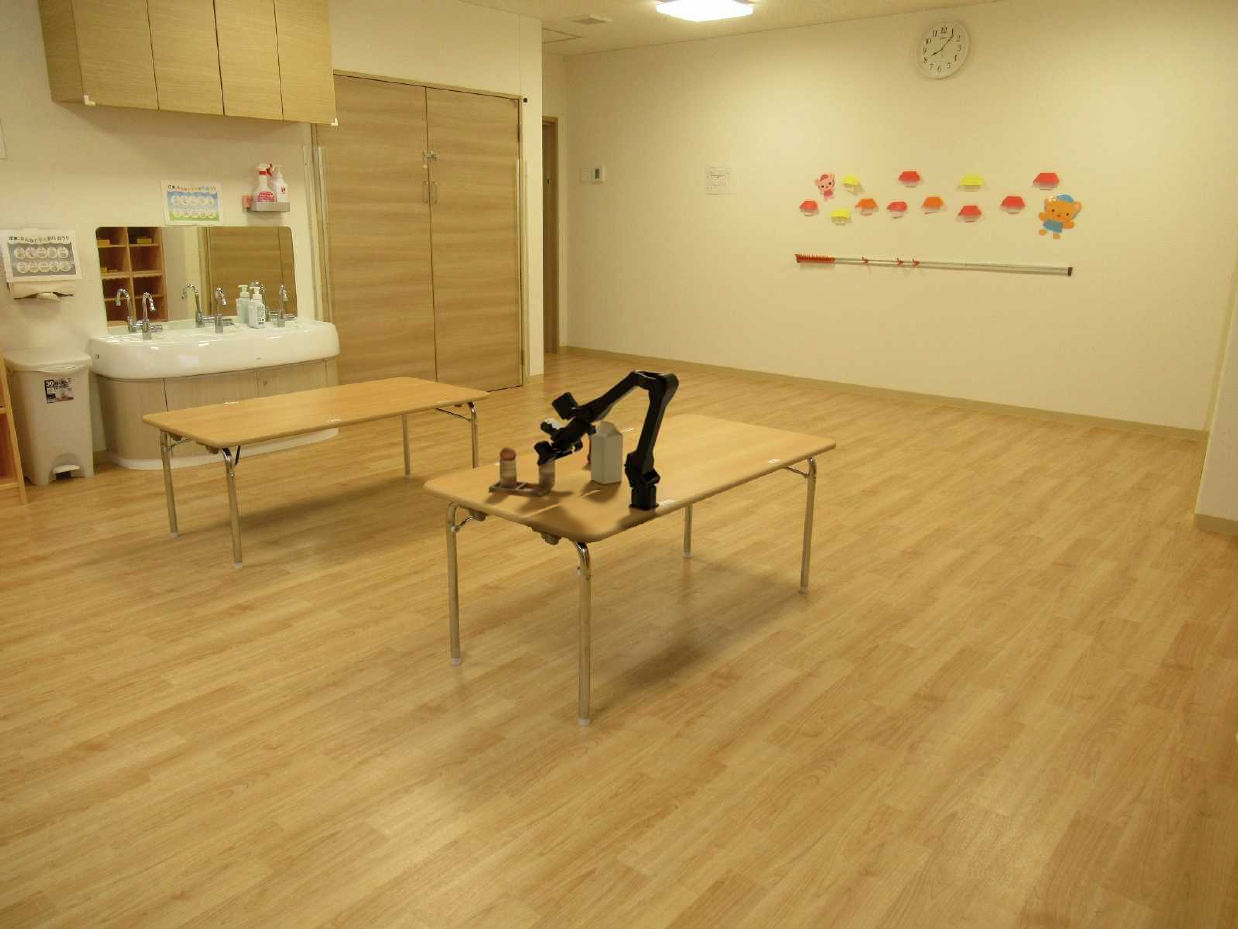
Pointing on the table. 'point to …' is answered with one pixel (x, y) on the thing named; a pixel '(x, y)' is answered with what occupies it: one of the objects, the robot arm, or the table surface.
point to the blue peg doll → (547, 473)
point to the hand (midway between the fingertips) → (543, 462)
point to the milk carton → (606, 453)
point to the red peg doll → (508, 468)
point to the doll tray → (523, 489)
